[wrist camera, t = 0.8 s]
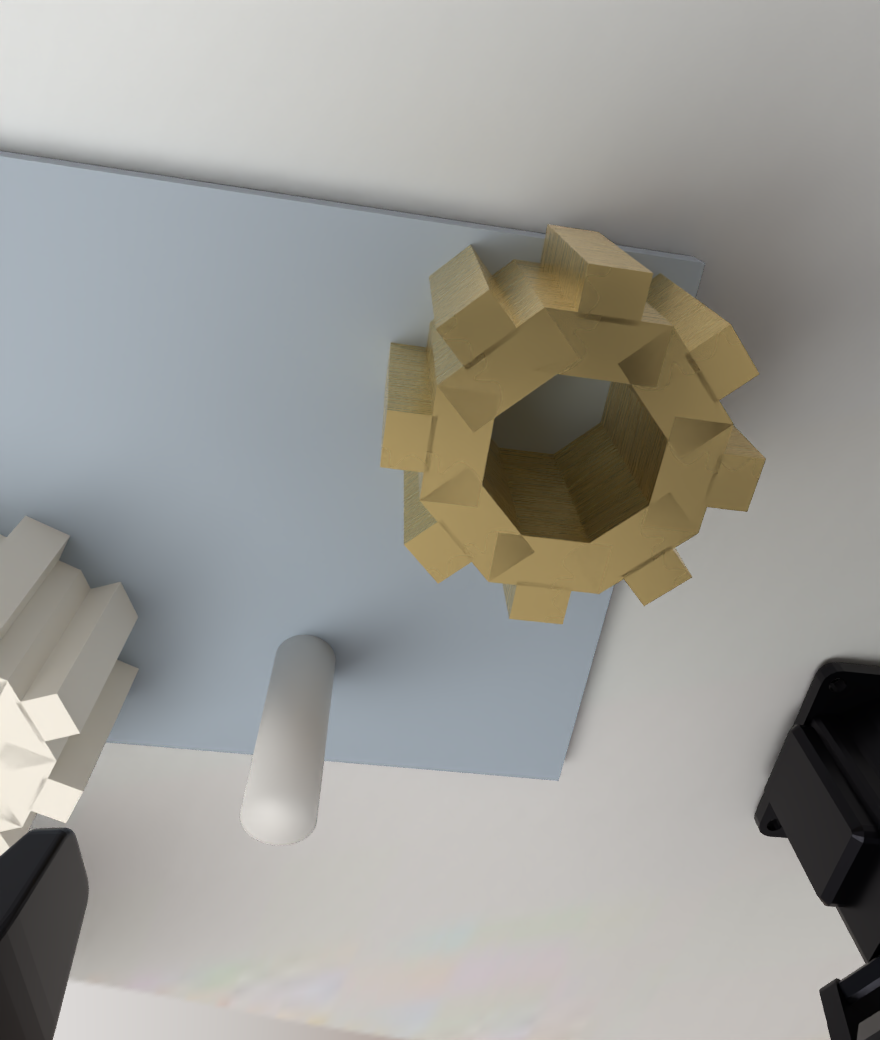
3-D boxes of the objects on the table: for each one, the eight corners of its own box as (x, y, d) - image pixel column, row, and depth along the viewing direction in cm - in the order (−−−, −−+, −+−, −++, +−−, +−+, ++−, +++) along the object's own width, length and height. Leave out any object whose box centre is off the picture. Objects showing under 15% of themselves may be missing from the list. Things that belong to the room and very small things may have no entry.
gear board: (694, 257, 19) (816, 328, 13) (554, 761, 26) (596, 950, 20) (-264, 110, 17) (-596, 122, 11) (-144, 700, 24) (-314, 891, 18)
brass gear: (731, 252, 18) (822, 298, 14) (647, 537, 21) (702, 638, 17) (407, 202, 17) (409, 236, 13) (370, 504, 21) (362, 603, 17)
